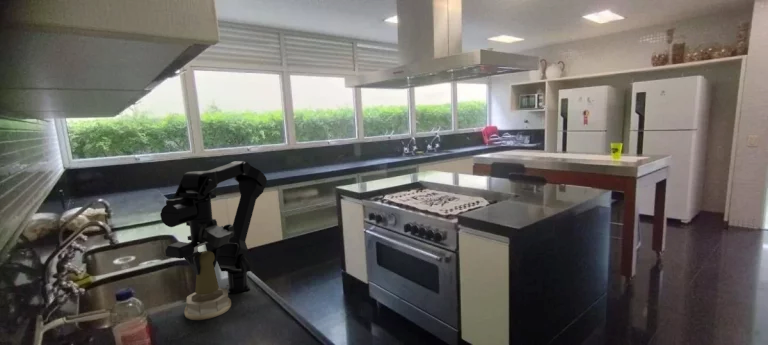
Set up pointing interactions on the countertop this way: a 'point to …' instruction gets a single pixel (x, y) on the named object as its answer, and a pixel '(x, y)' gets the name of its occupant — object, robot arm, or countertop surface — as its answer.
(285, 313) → the countertop surface
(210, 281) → the olive brown tapered peg
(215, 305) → the dock socket
